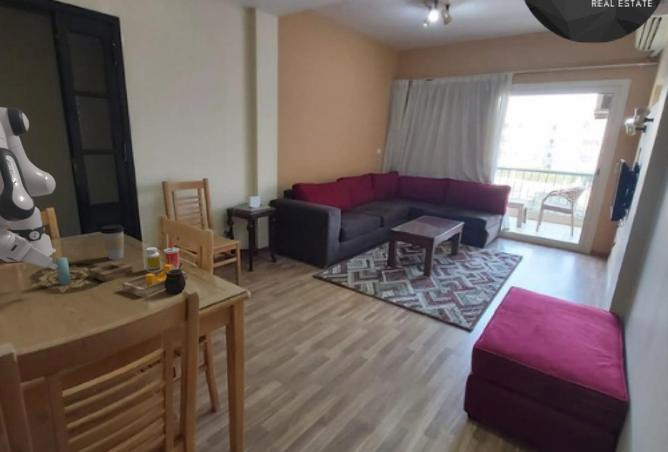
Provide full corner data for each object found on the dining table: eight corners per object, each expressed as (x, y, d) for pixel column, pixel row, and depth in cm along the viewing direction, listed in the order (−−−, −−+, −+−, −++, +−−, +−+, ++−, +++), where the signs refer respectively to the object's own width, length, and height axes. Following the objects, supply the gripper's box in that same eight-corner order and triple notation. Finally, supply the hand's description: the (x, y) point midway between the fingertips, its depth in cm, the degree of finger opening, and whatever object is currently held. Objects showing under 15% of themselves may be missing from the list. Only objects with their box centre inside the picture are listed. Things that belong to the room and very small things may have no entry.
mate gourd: (160, 294, 128) (158, 269, 125) (172, 286, 135) (170, 262, 132) (178, 296, 127) (176, 270, 124) (190, 287, 134) (188, 263, 132)
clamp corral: (123, 290, 130) (122, 283, 129) (168, 273, 146) (167, 266, 146) (142, 297, 125) (141, 289, 124) (187, 279, 141) (186, 272, 141)
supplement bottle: (163, 269, 150) (161, 248, 148) (151, 273, 146) (149, 251, 143) (155, 266, 153) (153, 245, 151) (143, 270, 149) (141, 249, 146)
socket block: (89, 276, 141) (88, 269, 140) (116, 267, 151) (115, 261, 150) (105, 281, 136) (104, 274, 136) (132, 272, 146) (131, 266, 145)
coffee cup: (117, 261, 157) (113, 230, 154) (99, 260, 159) (94, 228, 155) (132, 255, 166) (128, 224, 163) (114, 253, 168) (110, 223, 164)
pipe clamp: (164, 278, 142) (163, 263, 140) (173, 279, 141) (172, 264, 139) (143, 290, 130) (141, 274, 129) (153, 292, 130) (151, 276, 128)
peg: (57, 283, 133) (53, 259, 131) (68, 280, 136) (63, 256, 134) (62, 285, 132) (58, 261, 129) (73, 282, 135) (69, 258, 132)
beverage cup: (177, 272, 148) (174, 240, 145) (162, 271, 148) (159, 240, 145) (183, 266, 154) (180, 236, 151) (169, 266, 154) (166, 236, 151)
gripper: (-12, 249, 120) (28, 267, 130) (16, 260, 111) (57, 278, 121) (1, 234, 122) (40, 252, 133) (30, 243, 113) (69, 262, 124)
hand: (48, 265), depth 127 cm, fingers open, 8 cm apart
